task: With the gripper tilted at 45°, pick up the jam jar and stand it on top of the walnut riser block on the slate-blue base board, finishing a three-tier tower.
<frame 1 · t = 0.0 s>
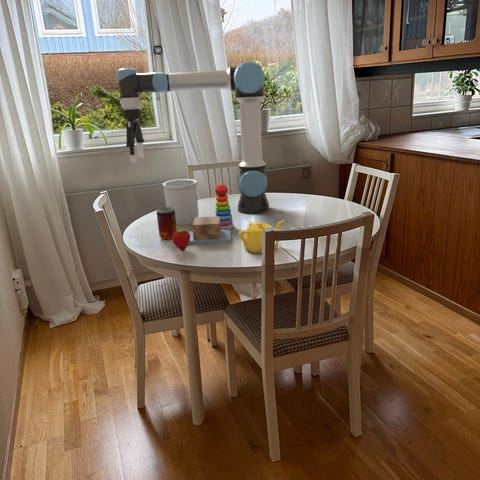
hand: (137, 160, 186), 28 cm above the table, tool pointing down, fingers open, 13 cm apart
strawberry: (182, 251, 158), on the table
jam jar: (168, 238, 173), on the table
teapot: (263, 249, 156), on the table
utensil holder: (183, 220, 196), on the table
stacking toy: (224, 228, 182), on the table
base board: (207, 238, 170), on the table
walnut riser: (207, 227, 168), on the base board, point 4 cm above the table
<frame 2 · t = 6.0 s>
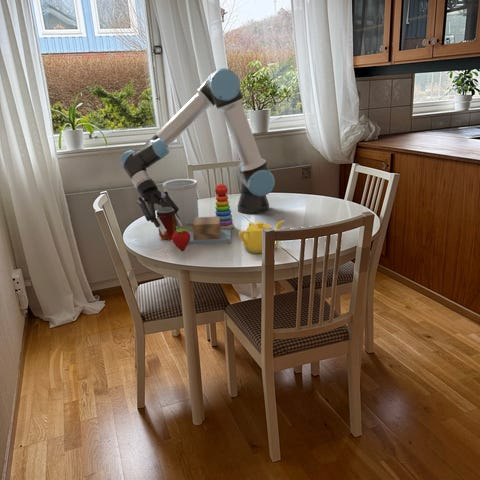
hand: (172, 230, 169), 4 cm above the table, tool tilted 45°, fingers closed on jam jar, 7 cm apart
jam jar: (168, 238, 173), on the table, touching gripper
everything else where it was.
when the fingers open (13 cm above the table, at t = 10.5 s): jam jar drops 1 cm, resting on walnut riser.
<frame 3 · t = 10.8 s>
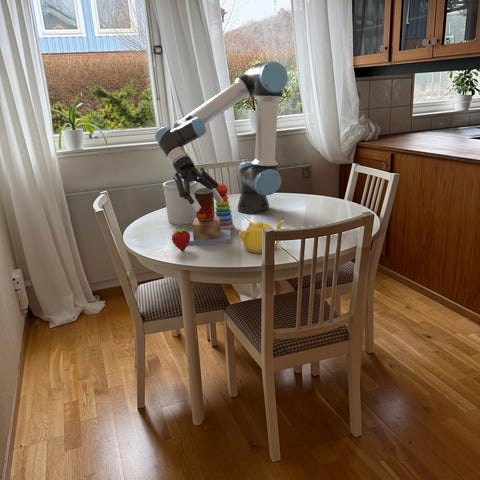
hand: (210, 206, 163), 14 cm above the table, tool tilted 45°, fingers open, 10 cm apart
jam jar: (206, 221, 167), point 7 cm above the table, touching walnut riser
everything else where it was.
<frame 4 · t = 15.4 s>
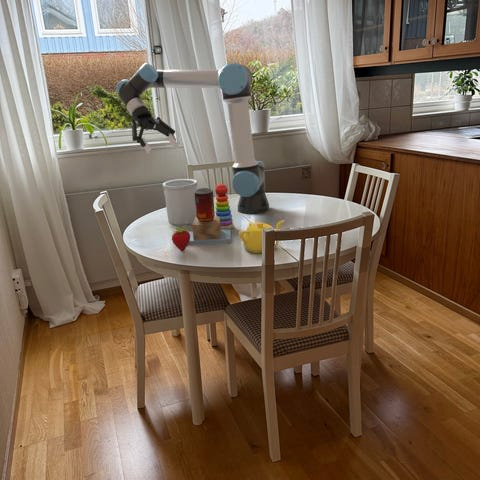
hand: (163, 149, 178), 33 cm above the table, tool tilted 45°, fingers open, 13 cm apart
nothing on the table moved.
at the end: jam jar inside the target area on the walnut riser (0.2 cm from its centre), point 7.3 cm above the walnut riser's base; jam jar tilted 0°; the gripper is holding nothing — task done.
